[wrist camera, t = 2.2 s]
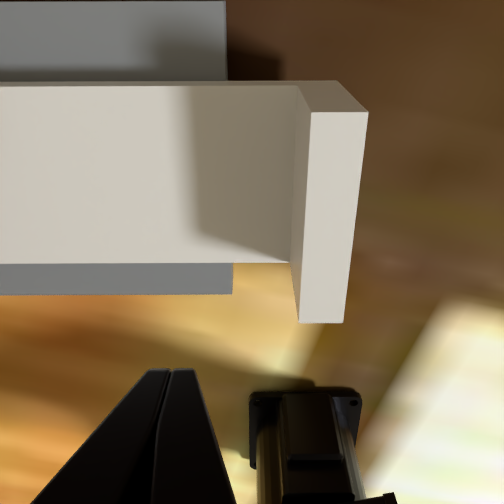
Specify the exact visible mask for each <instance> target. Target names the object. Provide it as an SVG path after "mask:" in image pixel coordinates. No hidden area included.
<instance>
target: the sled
mask: <svg viewBox="0 0 504 504" xmlns="http://www.w3.org/2000/svg"><path fill="white" fill-rule="evenodd" d="M367 120H368V111H367V110H366V109H365V108H364V107H363V106H362V105H361V104H360V103H359V102H358V101H357V100H356V99H355V98H354V97H353V96H352V95H351V94H350V93H349V92H348V91H347V90H346V89H345V88H344V87H343V86H342V85H341V84H340V83H339V82H338V81H65V82H0V264H56V263H290V268H291V275H292V281H293V288H294V295H295V302H296V309H297V315H298V322H299V323H343V318H344V310H345V301H346V293H347V285H348V276H349V268H350V260H351V252H352V243H353V235H354V227H355V219H356V210H357V202H358V194H359V186H360V177H361V169H362V161H363V153H364V144H365V136H366V128H367Z"/></svg>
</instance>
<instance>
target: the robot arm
mask: <svg viewBox="0 0 504 504" xmlns="http://www.w3.org/2000/svg"><path fill="white" fill-rule="evenodd" d="M257 400H259V401H257ZM351 400H354V401H351ZM361 408H362V399H361V395H360V394H359V393H357V392H254V393H252V394H251V395H250V397H249V441H250V467H251V468H253V469H256V470H257V504H397V501H396V498H395V494H394V492H392V493H386V494H383V496H380V497H374V498H368V499H366V495H365V490H364V486H363V482H362V477H361V473H360V469H359V464H358V460H357V456H356V451H355V444H356V438H357V432H358V426H359V420H360V414H361ZM30 504H237V503H236V500H235V497H234V494H233V490H232V487H231V484H230V481H229V477H228V474H227V471H226V468H225V464H224V461H223V458H222V455H221V451H220V448H219V445H218V442H217V439H216V435H215V432H214V429H213V426H212V422H211V419H210V416H209V413H208V409H207V406H206V403H205V400H204V397H203V393H202V390H201V387H200V384H199V380H198V377H197V374H196V371H195V370H194V369H193V368H175V369H173V370H170V369H168V368H154V369H149V370H148V371H146V372H145V374H144V375H143V376H142V377H141V378H140V379H139V380H138V382H137V383H136V384H135V385H134V386H133V387H132V388H131V390H130V391H129V392H128V393H127V394H126V395H125V396H124V398H123V399H122V400H121V401H120V402H119V403H118V404H117V405H116V407H115V408H114V409H113V410H112V411H111V412H110V413H109V415H108V416H107V417H106V418H105V419H104V420H103V421H102V423H101V424H100V425H99V426H98V427H97V428H96V429H95V431H94V432H93V433H92V434H91V435H90V436H89V437H88V438H87V440H86V441H85V442H84V443H83V444H82V445H81V446H80V448H79V449H78V450H77V451H76V452H75V453H74V454H73V456H72V457H71V458H70V459H69V460H68V461H67V462H66V464H65V465H64V466H63V467H62V468H61V469H60V470H59V472H58V473H57V474H56V475H55V476H54V477H53V478H52V479H51V481H50V482H49V483H48V484H47V485H46V486H45V487H44V489H43V490H42V491H41V492H40V493H39V494H38V495H37V497H36V498H35V499H34V500H33V501H32V502H31V503H30Z"/></svg>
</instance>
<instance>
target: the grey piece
mask: <svg viewBox="0 0 504 504" xmlns="http://www.w3.org/2000/svg"><path fill="white" fill-rule="evenodd" d="M65 81H228V73H227V37H226V1H0V82H65ZM232 287H233V263H56V264H0V295H191V294H232Z"/></svg>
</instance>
